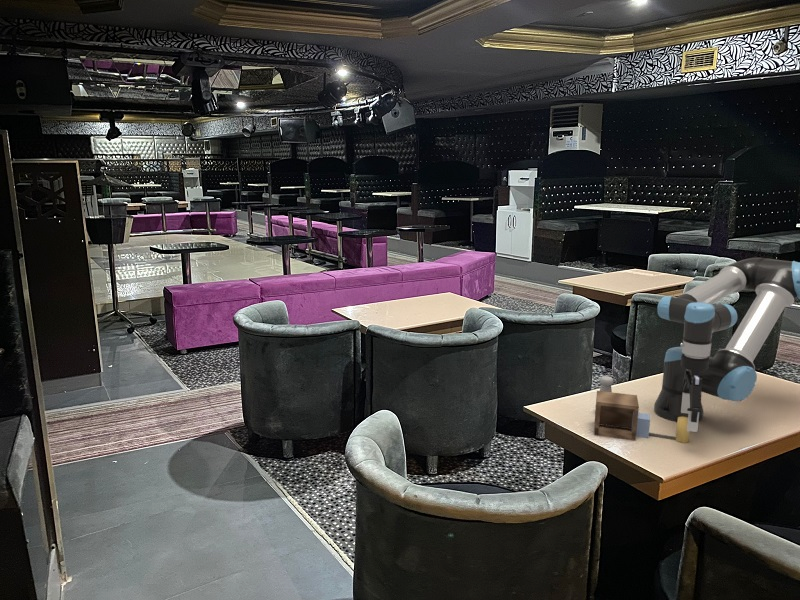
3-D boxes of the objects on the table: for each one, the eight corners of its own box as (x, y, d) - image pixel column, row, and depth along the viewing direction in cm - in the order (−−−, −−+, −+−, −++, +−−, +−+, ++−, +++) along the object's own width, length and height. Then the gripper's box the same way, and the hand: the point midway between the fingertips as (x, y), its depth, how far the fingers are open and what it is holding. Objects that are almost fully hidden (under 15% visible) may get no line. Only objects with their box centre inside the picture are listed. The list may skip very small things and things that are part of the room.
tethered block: (687, 438, 182) (690, 416, 181) (688, 444, 178) (691, 423, 176) (631, 429, 189) (633, 408, 187) (630, 435, 184) (632, 414, 183)
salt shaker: (592, 410, 203) (595, 374, 201) (608, 409, 204) (611, 374, 201) (599, 417, 198) (602, 380, 195) (615, 416, 198) (619, 379, 196)
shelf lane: (633, 427, 190) (636, 395, 187) (635, 440, 180) (638, 406, 178) (594, 422, 193) (597, 390, 191) (594, 435, 184) (597, 401, 182)
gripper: (676, 342, 188) (670, 404, 192) (687, 367, 165) (680, 437, 169) (702, 343, 185) (696, 407, 190) (717, 369, 162) (709, 441, 167)
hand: (688, 421), depth 180 cm, fingers open, 13 cm apart
